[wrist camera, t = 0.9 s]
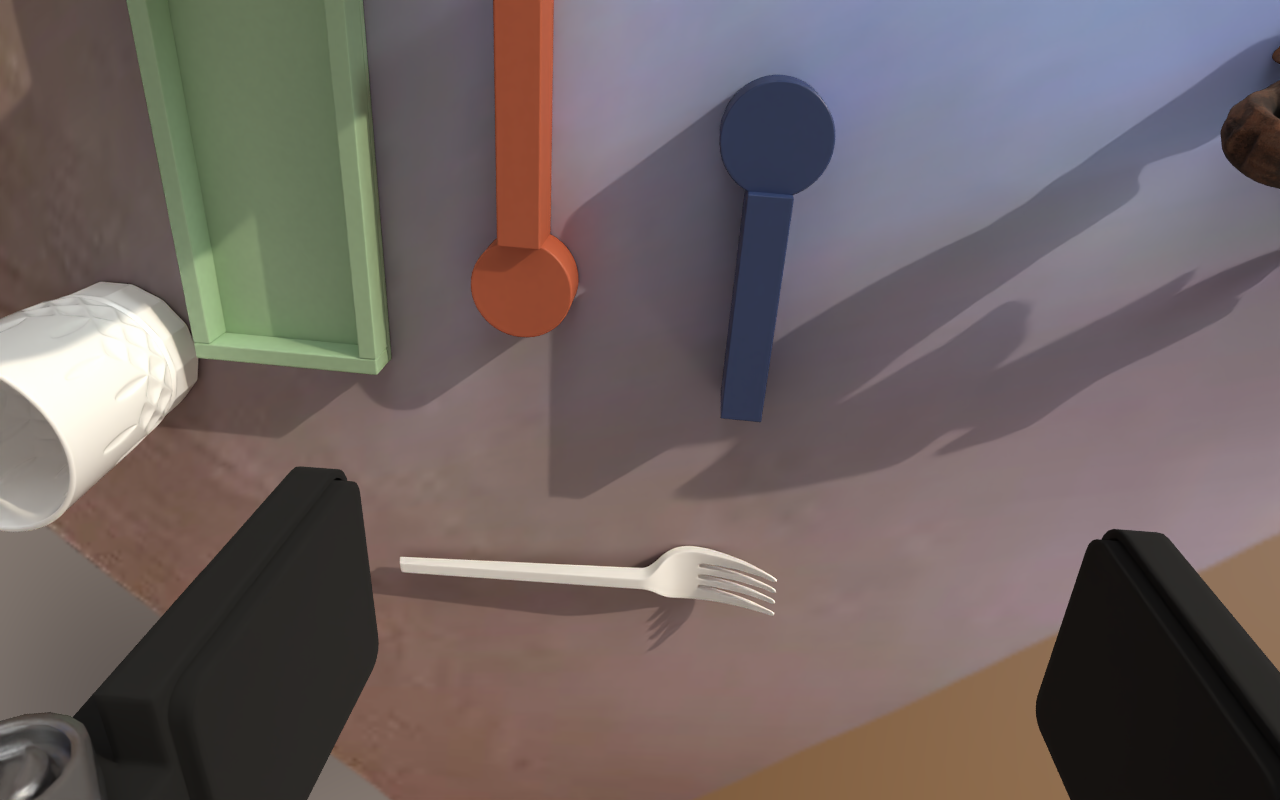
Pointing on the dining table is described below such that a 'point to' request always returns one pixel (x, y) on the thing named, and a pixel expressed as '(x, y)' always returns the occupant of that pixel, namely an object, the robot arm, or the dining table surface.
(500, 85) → the terracotta spoon
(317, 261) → the tray
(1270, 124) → the orange headphones
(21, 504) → the white cup
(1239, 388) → the dining table surface
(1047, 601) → the dining table surface
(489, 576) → the fork
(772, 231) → the blue spoon
